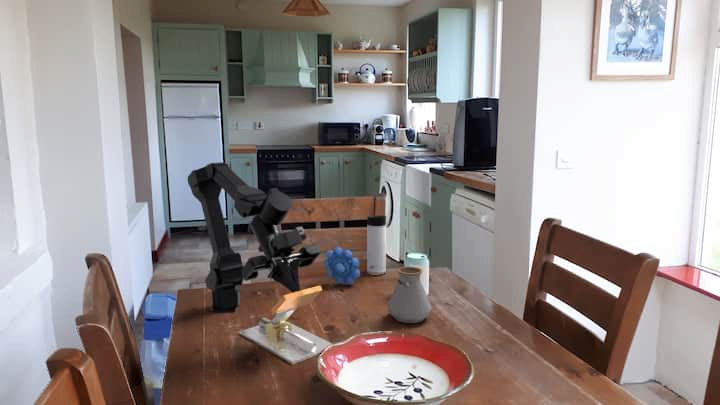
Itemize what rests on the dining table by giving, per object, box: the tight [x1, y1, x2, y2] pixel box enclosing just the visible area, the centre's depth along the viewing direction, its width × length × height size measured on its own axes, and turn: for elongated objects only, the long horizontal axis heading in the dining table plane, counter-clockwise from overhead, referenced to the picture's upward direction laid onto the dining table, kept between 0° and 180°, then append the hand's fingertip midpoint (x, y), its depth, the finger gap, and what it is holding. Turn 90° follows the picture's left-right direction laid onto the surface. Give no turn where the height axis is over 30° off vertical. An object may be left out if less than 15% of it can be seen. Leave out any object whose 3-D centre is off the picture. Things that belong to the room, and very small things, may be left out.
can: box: [404, 252, 430, 296], centre depth 155 cm, size 7×7×12 cm
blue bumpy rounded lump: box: [323, 246, 361, 285], centre depth 163 cm, size 12×7×12 cm, turn 78°
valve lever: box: [271, 285, 323, 325], centre depth 121 cm, size 2×10×15 cm
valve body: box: [239, 317, 333, 365], centre depth 124 cm, size 22×12×3 cm, turn 43°
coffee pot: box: [387, 266, 432, 324], centre depth 132 cm, size 21×12×15 cm, turn 165°
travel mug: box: [366, 214, 387, 275], centre depth 175 cm, size 6×7×20 cm
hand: (297, 293), depth 118 cm, fingers closed
